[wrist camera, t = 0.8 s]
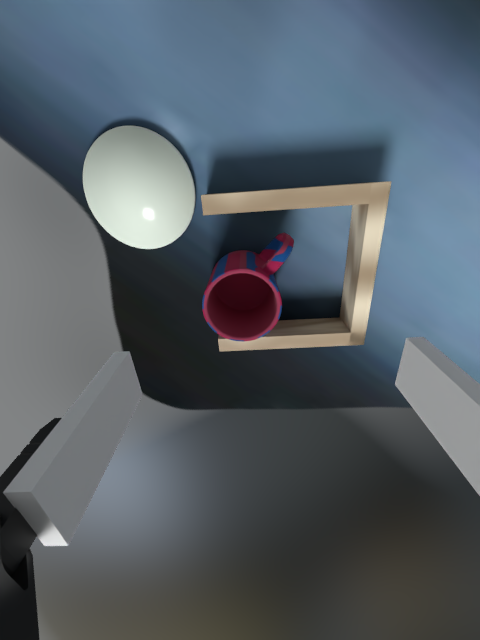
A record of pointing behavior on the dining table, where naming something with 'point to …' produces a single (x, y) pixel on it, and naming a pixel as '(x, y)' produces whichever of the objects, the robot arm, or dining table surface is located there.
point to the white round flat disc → (139, 187)
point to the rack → (359, 261)
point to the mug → (246, 291)
